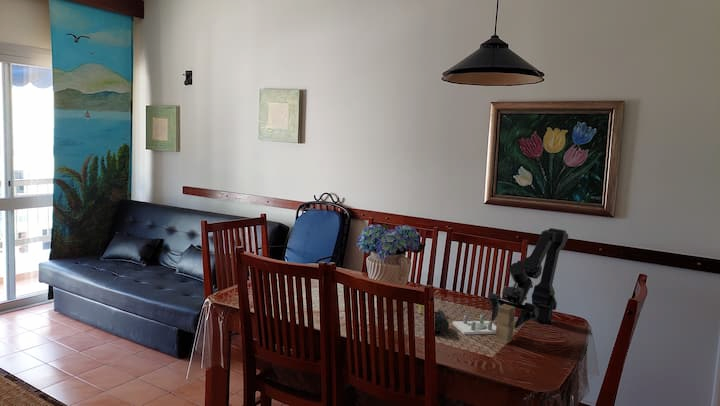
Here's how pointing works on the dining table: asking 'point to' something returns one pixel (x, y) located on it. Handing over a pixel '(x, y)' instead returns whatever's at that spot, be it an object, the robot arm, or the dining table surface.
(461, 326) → the plate
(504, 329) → the walnut post
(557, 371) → the dining table surface
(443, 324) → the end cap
